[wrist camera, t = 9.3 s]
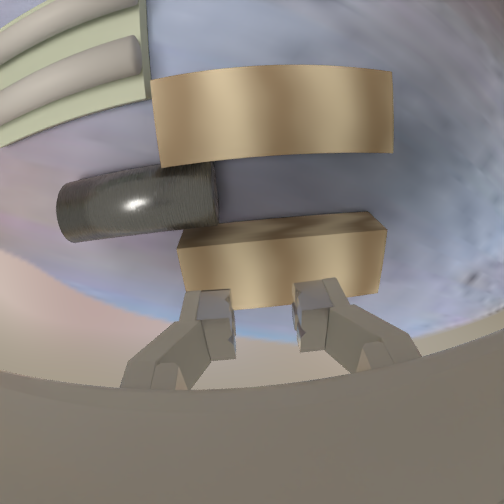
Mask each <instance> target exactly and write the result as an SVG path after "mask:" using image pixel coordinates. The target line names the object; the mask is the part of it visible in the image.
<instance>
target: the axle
mask: <svg viewBox="0 0 504 504" xmlns="http://www.w3.org/2000/svg"><path fill="white" fill-rule="evenodd" d="M56 213H57V220H58V224H59V227H60V229H61V232H62V233H63V235H64V236H65V238H66V239H67V240H68V241H70V242H73V243H77V242H84V241H92V240H99V239H107V238H115V237H122V236H130V235H139V234H147V233H155V232H164V231H173V230H182V229H191V228H200V227H210V226H218V223H219V206H218V193H217V184H216V176H215V169H214V164H213V161H209V162H201V163H193V164H185V165H178V166H171V167H165V168H161V164H158V165H152V166H146V167H140V168H135V169H130V170H124V171H119V172H114V173H109V174H104V175H100V176H95V177H91V178H86V179H82V180H78V181H74V182H69V183H66V184H65V185H64V186H63V187H62V188H61V190H60V192H59V194H58V198H57V205H56Z"/></svg>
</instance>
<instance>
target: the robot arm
mask: <svg viewBox="0 0 504 504" xmlns="http://www.w3.org/2000/svg"><path fill="white" fill-rule="evenodd" d="M292 296H293V299H294V302H293V303H292V317H293V324H294V329H295V330H296V331H297V341H298V345H299V349H300V352H309V351H318V350H325V351H326V352H327V353H328V354H329V355H331V357H333V358H334V359H335V360H336V361H337V362H338V363H339V364H341V365H342V366H343V367H344V368H345V369H346V370H348V371H349V372H350V373H351V374H346V375H341V376H335V377H329V378H323V379H317V380H310V381H303V382H296V383H288V384H278V385H269V386H260V387H259V386H258V387H246V388H231V389H211V390H210V389H209V390H191V388H192V387H193V386H194V384H195V383H196V382H197V380H198V379H199V378H200V376H201V375H202V374H203V372H204V371H205V370H206V368H207V367H208V366H209V364H210V363H211V361H216V360H228V359H236V342H235V336H236V327H235V315H234V309H233V308H232V295H231V290H230V289H215V290H197V291H187V292H186V293H185V297H184V301H183V306H182V310H181V314H180V319H179V321H177V322H174V323H173V324H172V325H170V326H169V327H168V328H167V329H166V330H164V331H163V332H162V333H161V334H160V335H159V336H157V337H156V338H155V339H154V340H153V341H151V342H150V343H149V344H148V345H147V346H146V347H145V348H143V349H142V350H141V351H140V352H138V353H137V354H136V355H135V356H134V357H133V358H131V359H130V360H129V361H128V363H127V366H126V369H125V372H124V376H123V378H122V382H121V385H120V388H113V387H101V386H91V385H82V384H74V383H66V382H60V381H53V380H47V379H41V378H36V377H30V376H25V375H20V374H16V373H11V372H7V371H2V370H0V504H504V328H503V329H501V330H499V331H496V332H494V333H491V334H489V335H486V336H483V337H481V338H478V339H475V340H473V341H470V342H467V343H464V344H461V345H459V346H455V347H452V348H449V349H446V350H443V351H440V352H437V353H433V354H430V355H426V356H423V357H422V356H421V354H420V352H419V351H418V349H417V347H416V346H415V344H414V342H413V341H412V339H411V337H410V336H409V334H408V333H406V332H404V331H402V330H401V329H399V328H397V327H395V326H393V325H391V324H390V323H388V322H386V321H384V320H382V319H380V318H378V317H377V316H375V315H373V314H371V313H369V312H367V311H365V310H364V309H362V308H360V307H358V306H356V305H354V304H353V305H350V303H349V301H348V299H347V298H346V296H345V294H344V292H343V290H342V288H341V286H340V284H339V282H338V280H337V278H335V277H333V278H326V279H321V280H314V281H306V282H297V283H292Z"/></svg>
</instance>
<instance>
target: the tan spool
mask: <svg viewBox="0 0 504 504" xmlns="http://www.w3.org/2000/svg"><path fill="white" fill-rule="evenodd" d="M150 85H151V94H152V103H153V112H154V120H155V127H156V135H157V142H158V149H159V156H160V162H161V168H165V167H171V166H178V165H185V164H193V163H201V162H209V161H218V160H227V159H237V158H248V157H260V156H274V155H290V154H312V153H393V137H394V114H393V83H392V72H390V71H382V70H374V69H366V68H355V67H343V66H325V65H265V66H248V67H235V68H225V69H216V70H208V71H200V72H193V73H187V74H181V75H175V76H169V77H164V78H159V79H154V80H150ZM386 237H387V229H386V228H385V227H384V226H383V225H382V224H381V223H380V222H379V221H378V220H376V219H375V218H374V217H373V216H372V215H371V214H370V213H369V212H352V213H337V214H323V215H310V216H297V217H285V218H273V219H262V220H251V221H240V222H230V223H220V224H218V226H210V227H200V228H191V229H184V230H183V233H182V236H181V238H180V241H179V244H178V246H177V254H178V258H179V263H180V267H181V272H182V276H183V280H184V285H185V289H186V292H187V291H197V290H215V289H230V290H231V295H232V308H233V309H234V310H241V309H252V308H262V307H272V306H281V305H291V304H292V303H293V302H294V299H293V296H292V283H297V282H306V281H314V280H321V279H326V278H333V277H335V278H337V280H338V282H339V284H340V286H341V288H342V290H343V292H344V294H345V296H346V297H353V296H360V295H367V294H374V293H378V289H379V283H380V277H381V271H382V265H383V258H384V252H385V244H386Z"/></svg>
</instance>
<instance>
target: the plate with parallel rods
mask: <svg viewBox="0 0 504 504" xmlns="http://www.w3.org/2000/svg"><path fill="white" fill-rule="evenodd" d="M150 80H151V73H150V61H149V48H148V32H147V12H146V0H47V1H45V2H43V3H42V4H40V5H38V6H36V7H34V8H33V9H31V10H29V11H27V12H26V13H24V14H22V15H21V16H19V17H17V18H16V19H14V20H13V21H11V22H10V23H8V24H7V25H5V26H4V27H2V28H1V29H0V148H2V147H5V146H8V145H10V144H12V143H15V142H17V141H19V140H22V139H24V138H26V137H29V136H31V135H33V134H36V133H39V132H41V131H44V130H46V129H49V128H52V127H54V126H57V125H60V124H63V123H66V122H69V121H72V120H75V119H78V118H81V117H84V116H87V115H91V114H94V113H97V112H101V111H104V110H108V109H112V108H116V107H119V106H123V105H127V104H132V103H136V102H140V101H145V100H150V99H152V94H151V85H150Z"/></svg>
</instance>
